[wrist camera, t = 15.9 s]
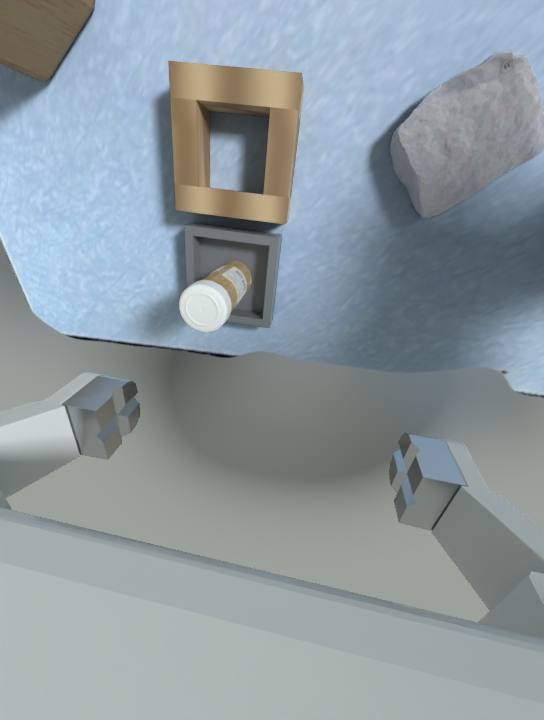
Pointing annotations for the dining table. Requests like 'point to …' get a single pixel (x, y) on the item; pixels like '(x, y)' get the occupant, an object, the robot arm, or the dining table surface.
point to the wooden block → (39, 33)
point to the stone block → (469, 133)
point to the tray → (248, 247)
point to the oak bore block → (242, 96)
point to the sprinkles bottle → (214, 296)
